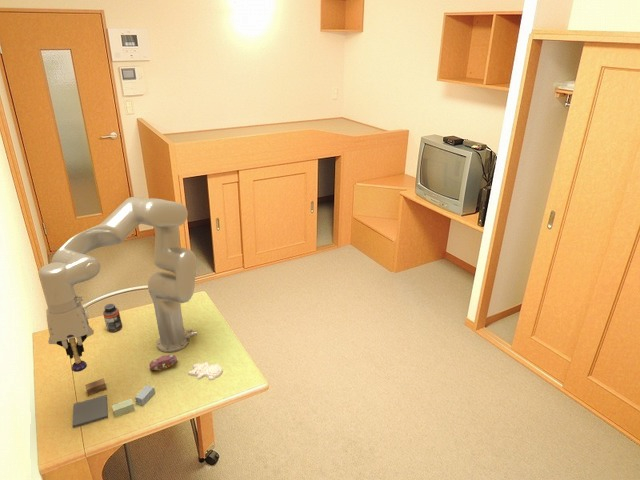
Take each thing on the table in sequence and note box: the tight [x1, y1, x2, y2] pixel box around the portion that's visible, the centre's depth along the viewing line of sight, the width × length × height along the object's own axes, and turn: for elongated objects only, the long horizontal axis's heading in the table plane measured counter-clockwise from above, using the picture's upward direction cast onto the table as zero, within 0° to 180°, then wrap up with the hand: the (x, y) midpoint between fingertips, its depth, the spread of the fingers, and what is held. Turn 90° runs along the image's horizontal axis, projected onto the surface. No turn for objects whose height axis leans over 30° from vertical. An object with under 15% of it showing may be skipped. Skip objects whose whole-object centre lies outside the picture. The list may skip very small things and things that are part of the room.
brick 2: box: [112, 398, 135, 418], centre depth 145 cm, size 6×3×3 cm, turn 122°
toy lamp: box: [67, 335, 88, 373], centre depth 134 cm, size 5×5×17 cm
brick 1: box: [84, 378, 108, 397], centre depth 153 cm, size 6×3×3 cm, turn 125°
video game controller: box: [148, 354, 178, 371], centre depth 164 cm, size 10×5×7 cm, turn 118°
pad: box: [71, 394, 109, 429], centre depth 145 cm, size 10×10×1 cm
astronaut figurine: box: [187, 361, 224, 381], centre depth 162 cm, size 9×12×3 cm
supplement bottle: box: [102, 303, 123, 333], centre depth 184 cm, size 6×6×11 cm
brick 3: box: [134, 384, 156, 406], centre depth 150 cm, size 6×3×3 cm, turn 162°
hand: (76, 354), depth 136 cm, fingers closed on toy lamp
